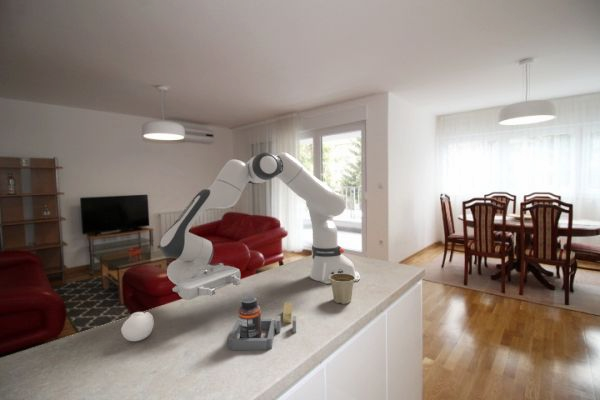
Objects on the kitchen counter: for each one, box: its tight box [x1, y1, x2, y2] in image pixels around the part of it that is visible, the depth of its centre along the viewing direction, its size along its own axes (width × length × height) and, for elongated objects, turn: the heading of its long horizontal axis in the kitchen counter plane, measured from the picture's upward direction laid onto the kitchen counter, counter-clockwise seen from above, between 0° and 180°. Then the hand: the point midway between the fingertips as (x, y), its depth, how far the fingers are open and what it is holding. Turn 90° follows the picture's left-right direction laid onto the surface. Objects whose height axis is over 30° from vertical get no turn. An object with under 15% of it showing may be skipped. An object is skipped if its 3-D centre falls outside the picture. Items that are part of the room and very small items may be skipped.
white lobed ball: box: [120, 311, 155, 342], centre depth 78 cm, size 8×8×8 cm
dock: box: [227, 315, 297, 351], centre depth 77 cm, size 18×11×4 cm, turn 89°
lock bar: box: [282, 301, 293, 324], centre depth 89 cm, size 8×2×3 cm, turn 179°
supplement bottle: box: [238, 296, 262, 338], centre depth 77 cm, size 6×6×11 cm
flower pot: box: [329, 273, 355, 305], centre depth 101 cm, size 9×9×9 cm
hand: (226, 287), depth 84 cm, fingers open, 8 cm apart
